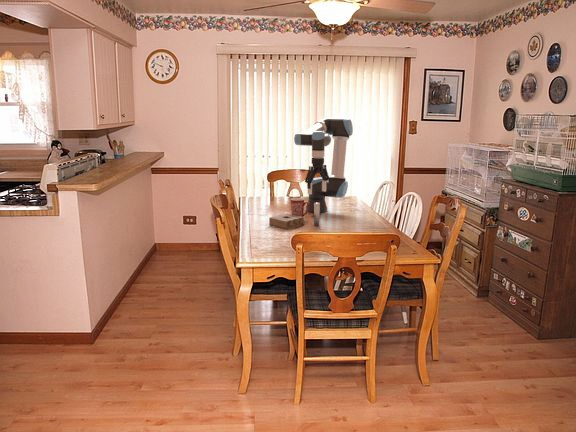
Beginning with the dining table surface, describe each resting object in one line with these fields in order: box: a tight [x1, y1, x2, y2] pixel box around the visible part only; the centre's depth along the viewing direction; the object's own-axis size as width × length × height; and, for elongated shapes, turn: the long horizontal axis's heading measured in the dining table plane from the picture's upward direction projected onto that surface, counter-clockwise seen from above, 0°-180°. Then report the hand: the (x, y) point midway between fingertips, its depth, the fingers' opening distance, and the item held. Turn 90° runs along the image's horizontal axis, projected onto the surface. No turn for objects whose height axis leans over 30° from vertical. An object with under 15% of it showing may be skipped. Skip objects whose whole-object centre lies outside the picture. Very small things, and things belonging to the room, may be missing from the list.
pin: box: [313, 203, 321, 227], centre depth 291 cm, size 3×3×14 cm
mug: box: [290, 197, 310, 218], centre depth 305 cm, size 13×9×14 cm
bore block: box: [268, 213, 305, 230], centre depth 291 cm, size 16×14×5 cm
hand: (316, 192), depth 287 cm, fingers open, 13 cm apart
